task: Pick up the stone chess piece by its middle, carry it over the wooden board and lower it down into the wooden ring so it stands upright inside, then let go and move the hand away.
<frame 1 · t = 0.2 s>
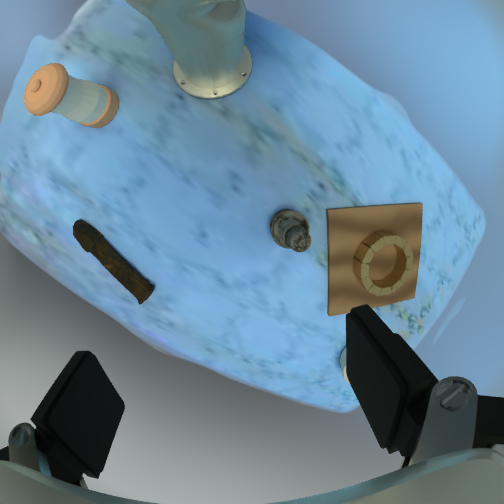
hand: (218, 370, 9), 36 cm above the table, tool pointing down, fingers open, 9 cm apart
ramekin: (358, 351, 54), on the table
wooden ring: (383, 263, 44), on the wooden board, point 3 cm above the table
wooden board: (376, 258, 47), on the table
stone chess piece: (286, 224, 44), on the table
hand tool: (113, 257, 44), on the table
pepper shaker: (101, 108, 36), on the table
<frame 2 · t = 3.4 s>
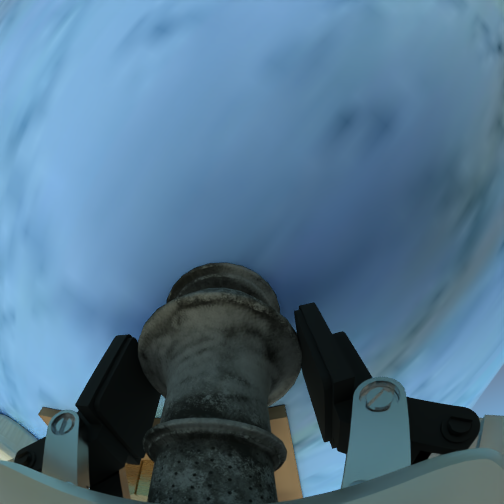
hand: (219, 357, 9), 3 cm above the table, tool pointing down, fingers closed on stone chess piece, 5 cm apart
ramekin: (25, 437, 17), on the table
wooden ring: (183, 501, 15), on the wooden board, point 3 cm above the table
wooden board: (186, 478, 17), on the table
stone chess piece: (222, 314, 12), on the table, touching gripper
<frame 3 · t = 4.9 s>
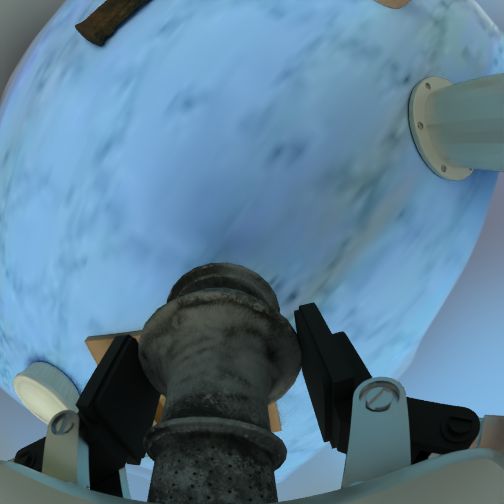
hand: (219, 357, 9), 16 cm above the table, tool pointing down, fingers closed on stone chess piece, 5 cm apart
ramekin: (56, 383, 29), on the table
wooden board: (190, 392, 29), on the table
stone chess piece: (222, 314, 12), point 13 cm above the table, touching gripper
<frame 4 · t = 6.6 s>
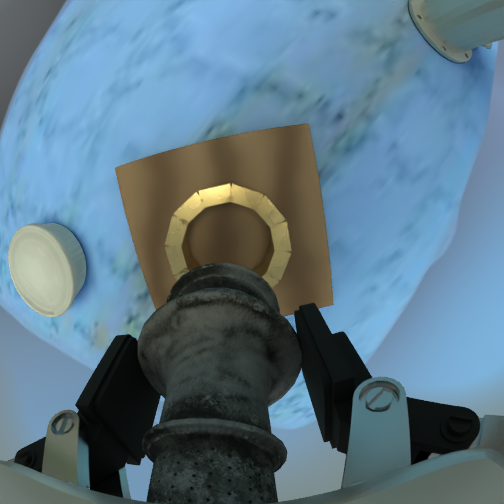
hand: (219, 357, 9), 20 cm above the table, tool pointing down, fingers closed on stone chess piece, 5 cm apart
ramekin: (60, 258, 28), on the table
wooden ring: (228, 243, 25), on the wooden board, point 3 cm above the table
wooden board: (229, 236, 28), on the table
stone chess piece: (222, 314, 12), point 16 cm above the table, touching gripper
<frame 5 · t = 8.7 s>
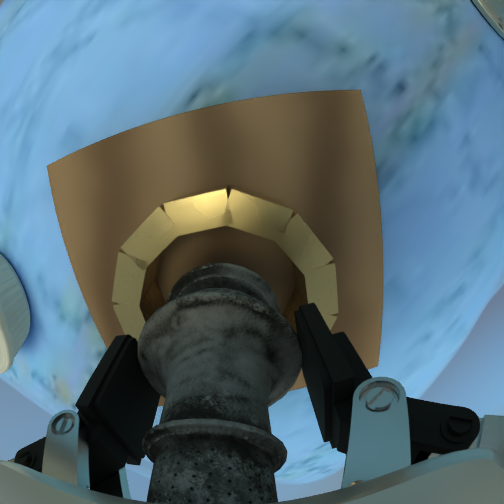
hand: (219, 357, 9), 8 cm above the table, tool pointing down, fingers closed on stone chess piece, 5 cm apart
ramekin: (2, 293, 17), on the table
wooden ring: (224, 296, 14), on the wooden board, point 3 cm above the table
wooden board: (226, 276, 17), on the table
stone chess piece: (222, 314, 12), point 5 cm above the table, touching gripper
when the fingers open (5 cm above the table, at t = 10.1 s): stone chess piece drops 1 cm, resting on wooden board.
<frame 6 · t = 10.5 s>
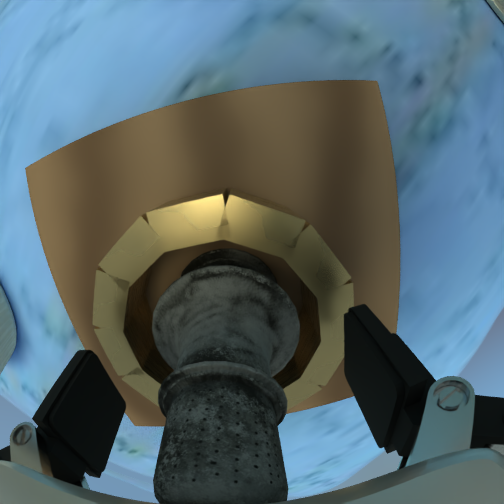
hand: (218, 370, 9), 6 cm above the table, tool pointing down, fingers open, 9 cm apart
wooden ring: (222, 319, 12), on the wooden board, point 3 cm above the table
wooden board: (224, 293, 15), on the table
stone chess piece: (227, 297, 14), point 1 cm above the table, touching wooden board
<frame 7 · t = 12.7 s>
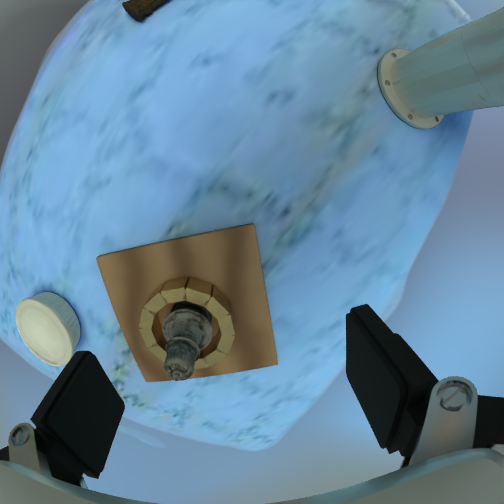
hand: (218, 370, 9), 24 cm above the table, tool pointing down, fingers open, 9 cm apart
ramekin: (58, 318, 33), on the table
wooden ring: (187, 325, 31), on the wooden board, point 3 cm above the table
wooden board: (190, 314, 34), on the table
stone chess piece: (190, 316, 33), point 1 cm above the table, touching wooden board
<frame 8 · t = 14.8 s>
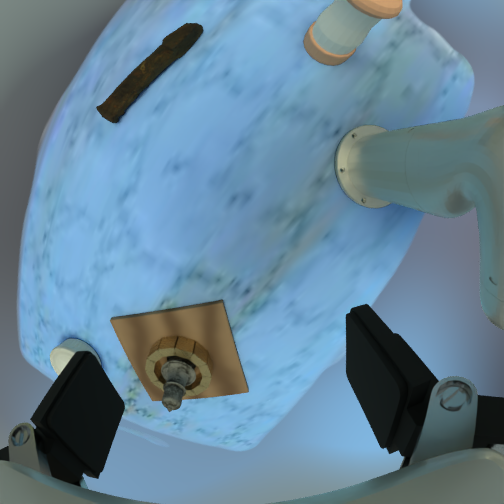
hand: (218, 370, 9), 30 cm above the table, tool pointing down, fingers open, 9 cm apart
ramekin: (83, 355, 44), on the table
wooden ring: (179, 367, 41), on the wooden board, point 3 cm above the table
wooden board: (181, 357, 44), on the table
stone chess piece: (181, 360, 43), point 1 cm above the table, touching wooden board
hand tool: (153, 71, 31), on the table
pepper shaker: (326, 46, 31), on the table
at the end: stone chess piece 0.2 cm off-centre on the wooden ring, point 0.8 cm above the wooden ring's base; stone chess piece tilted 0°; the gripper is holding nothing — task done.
